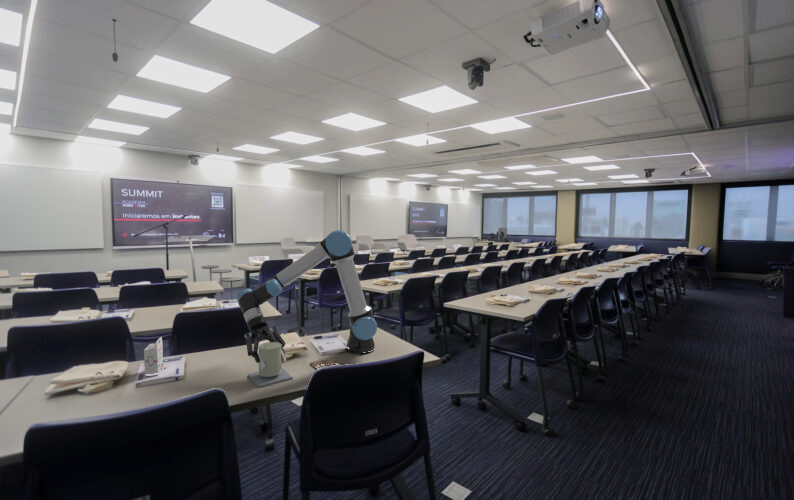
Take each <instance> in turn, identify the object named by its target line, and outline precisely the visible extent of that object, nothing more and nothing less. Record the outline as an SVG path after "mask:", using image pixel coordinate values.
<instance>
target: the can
mask: <svg viewBox="0 0 794 500" xmlns="http://www.w3.org/2000/svg"><path fill="white" fill-rule="evenodd" d="M281 346H282V345H281V343H278V342H270V341H268V342H264V343H261V344H259V346H258V353H260V354H261V357H262V359H263V362H264V364H265V366H266V367H265V368H264V369H263V370H261V368H260V366H259V365H258V372H259V375H260V376H263V377H270V376H275V375H278V374H280V373H281V372H282V370H281V367H282V361H281Z"/></svg>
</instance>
